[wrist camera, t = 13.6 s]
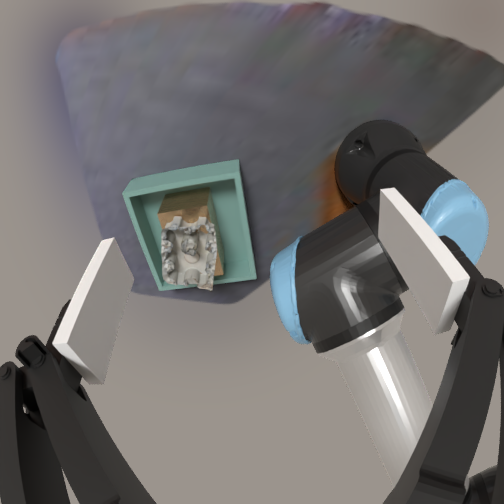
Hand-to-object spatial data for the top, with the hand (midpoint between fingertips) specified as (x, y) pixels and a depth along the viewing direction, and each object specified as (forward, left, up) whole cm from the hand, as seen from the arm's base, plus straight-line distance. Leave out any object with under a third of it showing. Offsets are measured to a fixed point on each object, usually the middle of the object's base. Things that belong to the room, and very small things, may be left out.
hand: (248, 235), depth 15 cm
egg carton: (+10, +17, -25) cm, 31 cm away
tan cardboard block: (+9, +17, -30) cm, 36 cm away
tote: (+9, +17, -31) cm, 37 cm away
